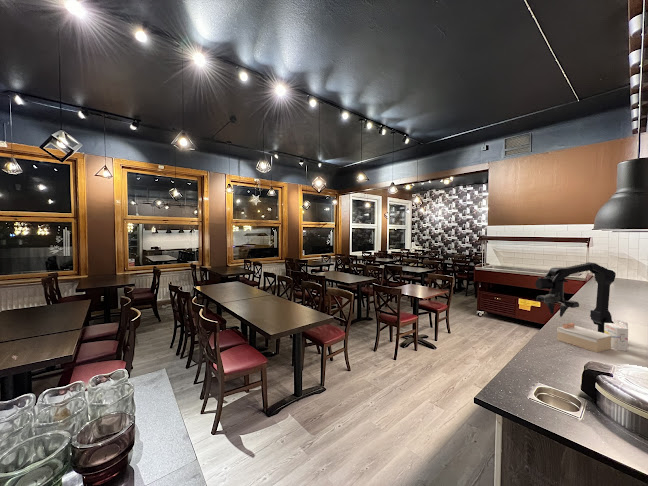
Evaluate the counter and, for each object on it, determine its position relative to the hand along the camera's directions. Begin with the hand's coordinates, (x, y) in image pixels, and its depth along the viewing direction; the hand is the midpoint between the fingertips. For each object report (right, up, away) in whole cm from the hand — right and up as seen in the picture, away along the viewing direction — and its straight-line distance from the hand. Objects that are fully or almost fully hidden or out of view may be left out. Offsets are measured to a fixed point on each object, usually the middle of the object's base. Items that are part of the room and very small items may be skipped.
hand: (556, 315), depth 157 cm
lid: (+4, -7, -12) cm, 15 cm away
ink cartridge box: (+17, -13, -16) cm, 27 cm away
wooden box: (+4, -12, -12) cm, 17 cm away
